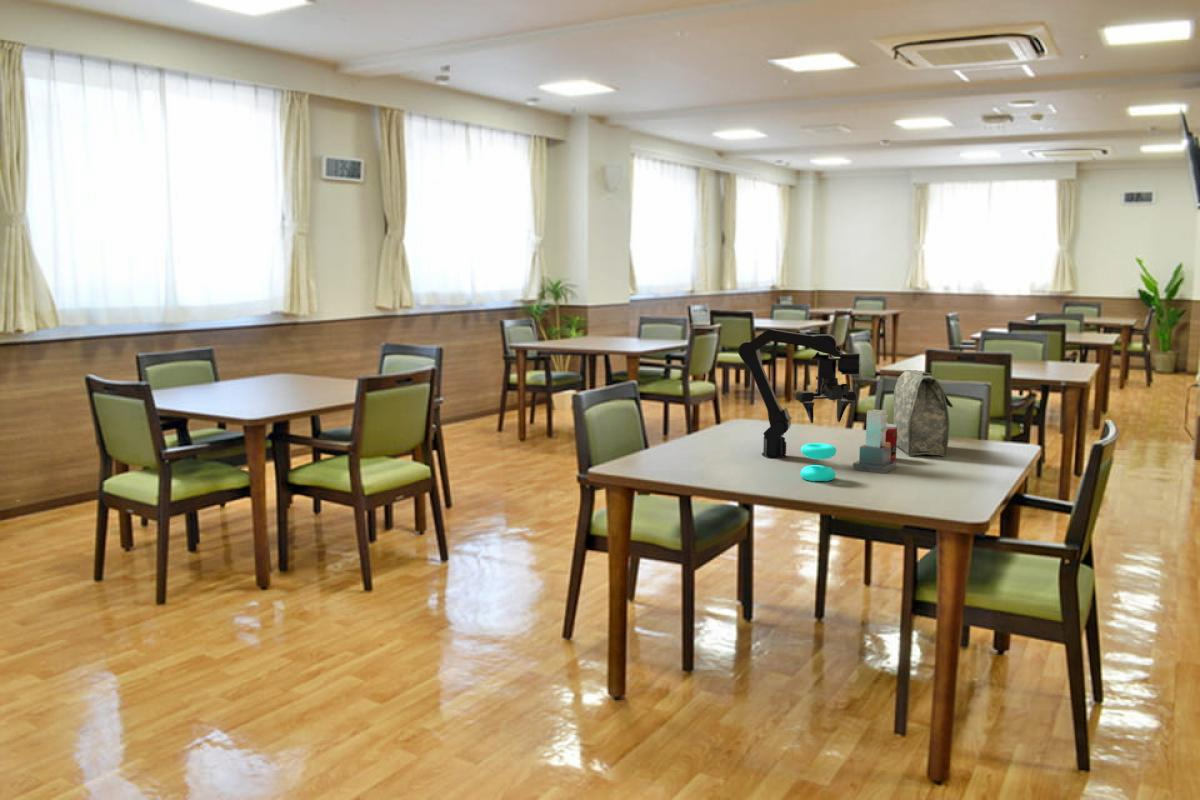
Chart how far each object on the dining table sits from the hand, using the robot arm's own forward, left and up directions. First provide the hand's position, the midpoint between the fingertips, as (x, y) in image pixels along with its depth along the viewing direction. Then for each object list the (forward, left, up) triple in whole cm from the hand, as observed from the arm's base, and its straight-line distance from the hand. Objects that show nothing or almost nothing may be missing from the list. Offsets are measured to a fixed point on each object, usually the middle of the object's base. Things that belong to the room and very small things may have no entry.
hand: (825, 422), depth 311 cm
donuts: (-14, -27, -12) cm, 33 cm away
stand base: (+9, -17, -12) cm, 23 cm away
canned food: (+19, -3, -12) cm, 23 cm away
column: (+9, -17, -6) cm, 20 cm away
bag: (+38, +8, -12) cm, 41 cm away
